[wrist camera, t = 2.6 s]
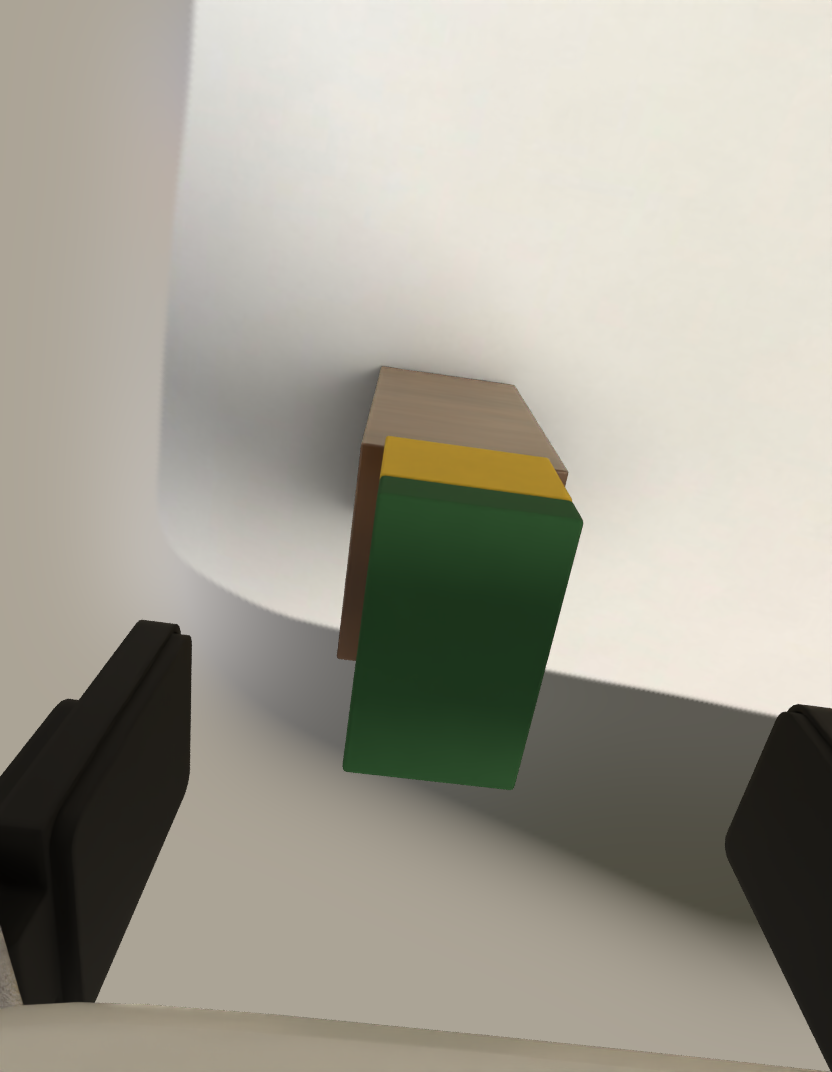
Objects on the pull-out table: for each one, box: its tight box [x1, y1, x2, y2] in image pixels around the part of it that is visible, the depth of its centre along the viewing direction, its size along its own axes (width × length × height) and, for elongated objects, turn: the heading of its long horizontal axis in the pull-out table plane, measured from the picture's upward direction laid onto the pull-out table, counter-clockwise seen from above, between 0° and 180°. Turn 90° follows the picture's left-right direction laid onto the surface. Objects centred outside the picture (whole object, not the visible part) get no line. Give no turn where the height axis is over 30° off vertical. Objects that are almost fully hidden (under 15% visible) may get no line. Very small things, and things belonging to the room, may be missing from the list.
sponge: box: [343, 436, 583, 790], centre depth 14 cm, size 6×4×4 cm, turn 172°
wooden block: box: [337, 366, 568, 661], centre depth 20 cm, size 6×4×9 cm
